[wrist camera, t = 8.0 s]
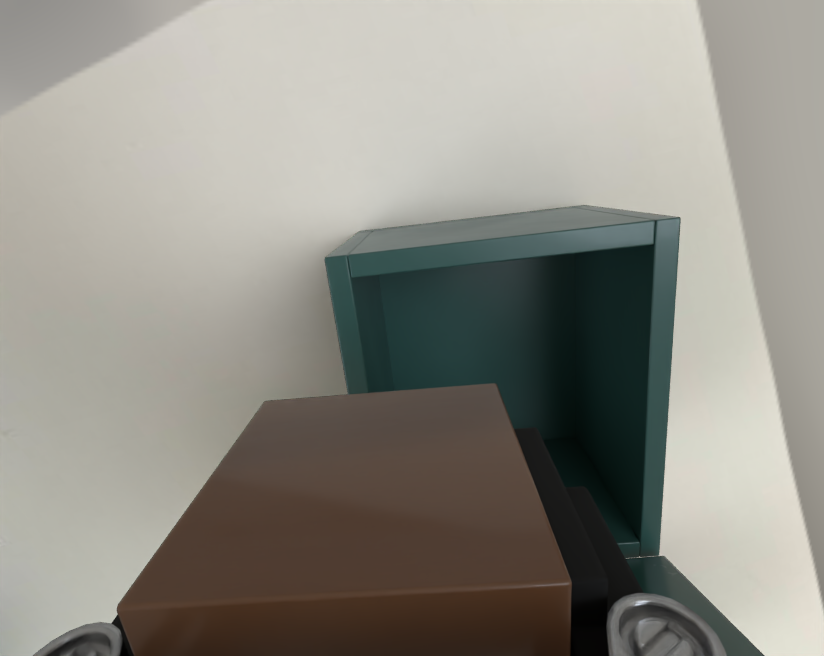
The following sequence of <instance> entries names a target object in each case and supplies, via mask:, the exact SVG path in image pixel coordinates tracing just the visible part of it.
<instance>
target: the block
mask: <svg viewBox="0 0 824 656" xmlns="http://www.w3.org/2000/svg"><path fill="white" fill-rule="evenodd" d="M571 590H572V582H571V579H570V576H569V574H568V571H567V568H566V566H565V563H564V560H563V558H562V555H561V552H560V550H559V547H558V545H557V542H556V539H555V537H554V534H553V531H552V529H551V526H550V523H549V521H548V518H547V515H546V513H545V510H544V507H543V505H542V502H541V499H540V497H539V494H538V492H537V489H536V486H535V484H534V481H533V478H532V476H531V473H530V470H529V468H528V465H527V462H526V460H525V457H524V454H523V452H522V449H521V447H520V444H519V441H518V439H517V436H516V433H515V431H514V428H513V425H512V423H511V420H510V417H509V415H508V412H507V409H506V407H505V404H504V402H503V399H502V396H501V394H500V391H499V388H498V386H497V384H495V383H491V384H478V385H465V386H452V387H439V388H426V389H413V390H400V391H387V392H374V393H361V394H348V395H335V396H322V397H310V398H297V399H284V400H271V401H265V402H264V403H263V404H262V406H261V407H260V408H259V410H258V411H257V413H256V414H255V415H254V417H253V418H252V419H251V421H250V422H249V424H248V425H247V426H246V428H245V429H244V431H243V432H242V433H241V435H240V436H239V437H238V439H237V440H236V442H235V443H234V444H233V446H232V447H231V449H230V450H229V451H228V453H227V454H226V455H225V457H224V458H223V460H222V461H221V462H220V464H219V465H218V467H217V468H216V469H215V471H214V472H213V474H212V475H211V476H210V478H209V479H208V480H207V482H206V483H205V485H204V486H203V487H202V489H201V490H200V492H199V493H198V494H197V496H196V497H195V498H194V500H193V501H192V503H191V504H190V505H189V507H188V508H187V510H186V511H185V512H184V514H183V515H182V516H181V518H180V519H179V521H178V522H177V523H176V525H175V526H174V528H173V529H172V530H171V532H170V533H169V534H168V536H167V537H166V539H165V540H164V541H163V543H162V544H161V546H160V547H159V548H158V550H157V551H156V553H155V554H154V555H153V557H152V558H151V559H150V561H149V562H148V564H147V565H146V566H145V568H144V569H143V571H142V572H141V573H140V575H139V576H138V577H137V579H136V580H135V582H134V583H133V584H132V586H131V587H130V589H129V590H128V591H127V593H126V594H125V595H124V597H123V598H122V600H121V601H120V602H119V604H118V606H117V613H118V615H119V618H120V621H121V623H122V626H123V628H124V631H125V634H126V636H127V639H128V641H129V644H130V646H131V649H132V652H133V654H134V656H570V649H571Z"/></svg>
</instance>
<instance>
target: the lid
mask: <svg viewBox="0 0 824 656" xmlns="http://www.w3.org/2000/svg"><path fill="white" fill-rule="evenodd" d="M626 561H627V563H628V564H629V566H630V568H631V570H632V572H633V574H634V576H635V577H636V579H637V581H638V583H639V585H640V587H641V588H642V590H643V592H644V593H650V594H657V595H660V596H664V597H667V598H671V599H673V600H675V601H677V602H679V603H681V604H683V605H685V606H687V607H689V608H690V609H691V610H692V611H694V612H695V613H696V614H698V615H699V616H700V617H702V618H703V619H704V620H705V621H706V622H707V623H708V625H709V626H710V627H711V628H712V629H713V630H714V632H715V633H716V634H717V636H718V638H719V639H720V641H721V643H722V645H723V647H724V649H725V652H726V655H727V656H764V655H763V654H762V653H761V652H760V651H759V650H758V649H757V648H756V647H755V646H754V645H753V644H752V643H751V642H750V641H749V640H748V639H747V638H746V637H745V636H744V635H743V634H742V633H741V632H740V631H739V630H738V629H737V628H736V627H735V626H734V625H733V624H732V623H731V622H730V621H729V620H728V619H727V618H726V617H725V616H724V615H723V614H722V613H721V612H720V611H719V610H718V609H717V608H716V607H715V606H714V605H713V604H712V603H711V602H710V601H709V600H708V599H707V598H706V597H705V596H704V595H703V594H702V593H701V592H700V591H699V590H698V589H697V588H696V587H695V586H694V585H693V584H692V583H691V582H690V581H689V580H688V579H687V578H686V577H685V576H684V575H683V574H682V573H681V572H680V571H679V570H678V569H677V568H676V567H675V566H674V565H673V564H672V563H671V562H670V561H669V560H668V559H667V558H666V557H665V556H656V557H642V558H629V559H626Z"/></svg>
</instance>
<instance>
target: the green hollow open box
mask: <svg viewBox="0 0 824 656" xmlns="http://www.w3.org/2000/svg"><path fill="white" fill-rule="evenodd" d="M679 235H680V217H674V216H666V215H658V214H650V213H643V212H635V211H627V210H619V209H611V208H603V207H596V206H587V205H581V206H573V207H564V208H556V209H547V210H538V211H530V212H521V213H512V214H504V215H495V216H487V217H478V218H469V219H461V220H452V221H443V222H435V223H426V224H418V225H409V226H400V227H392V228H383V229H374V230H366V231H359V232H358V233H357V234H355V235H354V236H353V237H352V238H350V239H349V240H348V241H346V242H345V243H344V244H342V245H341V246H340V247H338V248H337V249H336V250H334V251H333V252H332V253H330V254H329V255H328V256H327V257H325V259H324V260H325V265H326V271H327V277H328V283H329V288H330V294H331V300H332V306H333V311H334V317H335V323H336V329H337V334H338V340H339V346H340V352H341V357H342V363H343V369H344V375H345V380H346V386H347V392H348V394H361V393H374V392H387V391H400V390H413V389H426V388H439V387H452V386H465V385H478V384H491V383H495V384H497V386H498V388H499V391H500V394H501V396H502V399H503V402H504V404H505V407H506V409H507V412H508V415H509V417H510V420H511V423H512V425H513V428H514V429H517V428H531V427H536V428H537V429H538V431H539V433H540V435H541V437H542V439H543V441H544V444H545V446H546V448H547V450H548V452H549V454H550V456H551V458H552V461H553V463H554V465H555V467H556V469H557V471H558V473H559V475H560V477H561V480H562V482H563V484H564V486H565V487H580V486H584V487H585V488H587V490H588V491H589V493H590V495H591V496H592V498H593V500H594V502H595V504H596V506H597V507H598V509H599V511H600V513H601V515H602V517H603V518H604V520H605V522H606V524H607V526H608V528H609V530H610V531H611V533H612V535H613V537H614V539H615V541H616V542H617V544H618V546H619V548H620V550H621V552H622V553H623V555H624V557H625V558H634V557H639V556H640V557H647V556H658V555H659V548H660V533H661V517H662V501H663V485H664V470H665V454H666V438H667V423H668V407H669V391H670V376H671V360H672V344H673V329H674V313H675V297H676V282H677V266H678V250H679Z"/></svg>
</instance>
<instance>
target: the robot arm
mask: <svg viewBox="0 0 824 656" xmlns="http://www.w3.org/2000/svg"><path fill="white" fill-rule="evenodd" d="M514 431H515V433H516V436H517V439H518V441H519V444H520V447H521V449H522V452H523V454H524V457H525V460H526V462H527V465H528V468H529V470H530V473H531V476H532V478H533V481H534V484H535V486H536V489H537V492H538V494H539V497H540V499H541V502H542V505H543V507H544V510H545V513H546V515H547V518H548V521H549V523H550V526H551V529H552V531H553V534H554V537H555V539H556V542H557V545H558V547H559V550H560V552H561V555H562V558H563V560H564V563H565V566H566V568H567V571H568V574H569V576H570V579H571V582H572V590H571V649H570V656H727V655H726V652H725V649H724V647H723V645H722V643H721V641H720V639H719V638H718V636H717V634H716V633H715V632H714V630H713V629H712V628H711V627H710V626H709V625H708V623H707V622H706V621H705V620H704V619H703V618H702V617H700V616H699V615H698V614H696V613H695V612H694V611H692V610H691V609H690V608H689V607H687V606H685V605H683V604H681V603H679V602H677V601H675V600H673V599H671V598H667V597H664V596H660V595H657V594H650V593H644V592H643V590H642V588H641V587H640V585H639V583H638V581H637V579H636V577H635V576H634V574H633V572H632V570H631V568H630V566H629V564H628V563H627V561H626V559H625V557H624V555H623V553H622V552H621V550H620V548H619V546H618V544H617V542H616V541H615V539H614V537H613V535H612V533H611V531H610V530H609V528H608V526H607V524H606V522H605V520H604V518H603V517H602V515H601V513H600V511H599V509H598V507H597V506H596V504H595V502H594V500H593V498H592V496H591V495H590V493H589V491H588V490H587V488H585V487H584V486H580V487H565V486H564V484H563V482H562V480H561V477H560V475H559V473H558V471H557V469H556V467H555V465H554V463H553V461H552V458H551V456H550V454H549V452H548V450H547V448H546V446H545V444H544V441H543V439H542V437H541V435H540V433H539V431H538V429H537V428H536V427H531V428H517V429H514ZM33 656H134V654H133V652H132V649H131V646H130V644H129V641H128V639H127V636H126V634H125V631H124V628H123V626H122V623H121V621H120V618H119V615H117V616H116V618H115V619H114V621H113V622H112V623H111V624H110V623H103V622H98V623H92V624H86V625H83V626H81V627H78V628H75V629H73V630H70V631H68V632H66V633H65V634H63V635H61V636H59V637H58V638H56V639H54V640H52V641H51V642H50V643H48V644H47V645H46V646H44V647H43V648H42V649H40V650H39V651H38V652H37V653H35V654H34V655H33Z"/></svg>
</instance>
